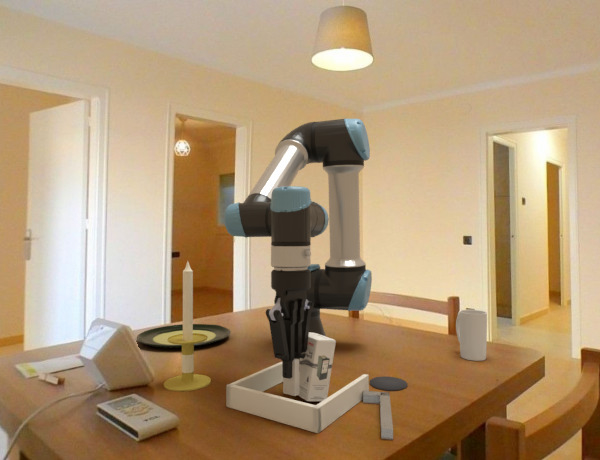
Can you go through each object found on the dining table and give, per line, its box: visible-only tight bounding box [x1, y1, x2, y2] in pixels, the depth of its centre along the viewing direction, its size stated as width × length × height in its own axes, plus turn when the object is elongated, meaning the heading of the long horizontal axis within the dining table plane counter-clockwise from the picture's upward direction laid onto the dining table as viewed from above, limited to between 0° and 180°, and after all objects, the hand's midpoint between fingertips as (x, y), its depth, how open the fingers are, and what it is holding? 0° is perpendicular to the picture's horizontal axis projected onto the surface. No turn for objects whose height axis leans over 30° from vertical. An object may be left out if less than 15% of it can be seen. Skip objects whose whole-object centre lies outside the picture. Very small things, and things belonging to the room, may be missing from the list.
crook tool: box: [362, 390, 394, 441], centre depth 76 cm, size 5×16×2 cm, turn 170°
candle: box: [163, 261, 212, 392], centre depth 93 cm, size 10×10×27 cm
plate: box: [136, 323, 232, 349], centre depth 132 cm, size 28×28×2 cm
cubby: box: [225, 361, 370, 434], centre depth 83 cm, size 20×20×4 cm
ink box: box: [297, 332, 337, 402], centre depth 86 cm, size 9×5×12 cm, turn 32°
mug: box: [455, 309, 488, 362], centre depth 114 cm, size 10×7×12 cm, turn 17°
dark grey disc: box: [369, 376, 408, 392], centre depth 92 cm, size 8×8×1 cm
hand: (291, 393), depth 81 cm, fingers closed
